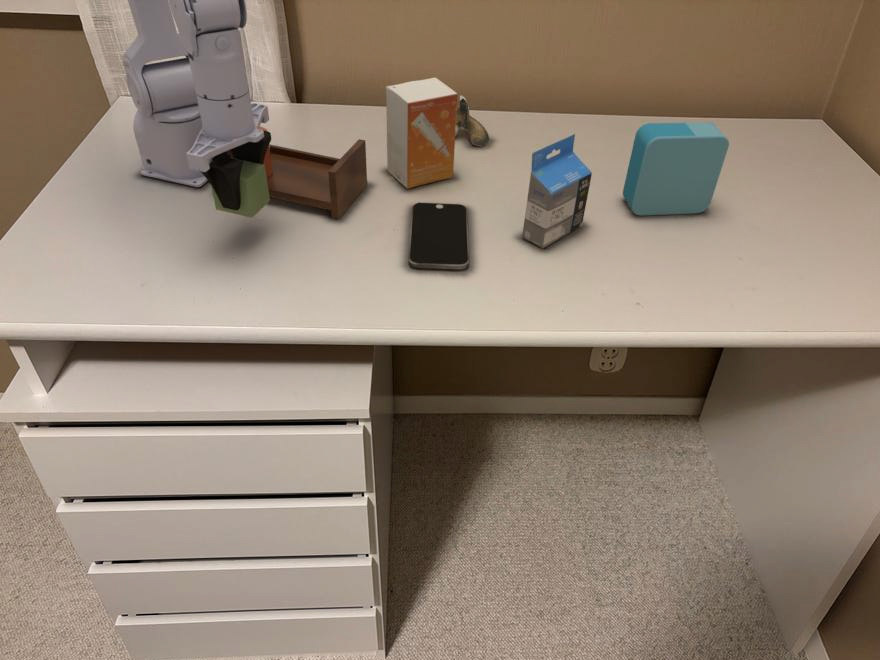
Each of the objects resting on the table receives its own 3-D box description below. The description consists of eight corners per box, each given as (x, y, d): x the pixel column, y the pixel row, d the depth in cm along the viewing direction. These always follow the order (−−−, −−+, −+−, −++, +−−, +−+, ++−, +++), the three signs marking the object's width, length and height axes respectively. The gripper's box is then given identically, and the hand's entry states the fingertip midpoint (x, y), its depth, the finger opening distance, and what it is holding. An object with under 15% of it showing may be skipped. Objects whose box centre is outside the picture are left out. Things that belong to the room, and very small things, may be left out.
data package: (695, 197, 109) (718, 121, 101) (707, 213, 106) (732, 136, 98) (620, 200, 107) (637, 122, 99) (630, 216, 104) (648, 137, 96)
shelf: (338, 219, 98) (335, 172, 93) (219, 193, 101) (209, 146, 96) (367, 185, 105) (365, 140, 101) (255, 161, 108) (248, 116, 104)
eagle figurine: (423, 127, 118) (459, 137, 112) (437, 83, 116) (475, 92, 111) (454, 142, 124) (491, 153, 118) (468, 101, 122) (506, 109, 117)
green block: (215, 209, 90) (208, 172, 86) (234, 193, 93) (227, 156, 89) (252, 217, 89) (246, 181, 85) (270, 200, 92) (264, 164, 89)
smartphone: (467, 203, 102) (469, 265, 91) (466, 208, 102) (469, 270, 91) (412, 201, 101) (407, 263, 90) (412, 206, 102) (407, 268, 91)
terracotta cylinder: (238, 176, 100) (230, 135, 96) (252, 163, 103) (246, 123, 99) (264, 182, 99) (258, 141, 95) (278, 169, 102) (273, 128, 98)
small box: (407, 190, 105) (406, 102, 96) (386, 171, 109) (384, 85, 100) (454, 178, 109) (458, 92, 100) (433, 159, 112) (435, 75, 103)
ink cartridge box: (542, 250, 96) (555, 164, 88) (520, 238, 98) (531, 153, 89) (583, 226, 101) (598, 143, 93) (561, 215, 103) (574, 132, 94)
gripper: (219, 122, 75) (240, 234, 84) (285, 73, 85) (298, 177, 95) (159, 110, 76) (186, 222, 85) (231, 63, 87) (249, 167, 96)
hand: (241, 198), depth 90 cm, fingers closed on green block, 4 cm apart
